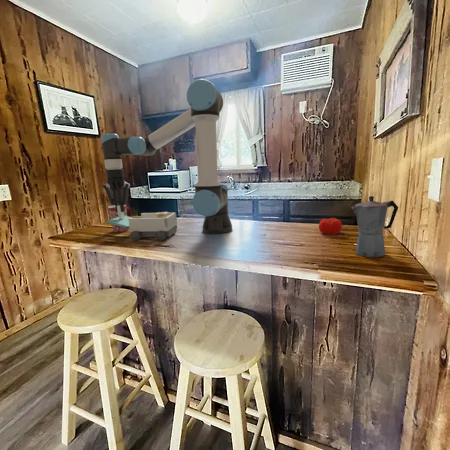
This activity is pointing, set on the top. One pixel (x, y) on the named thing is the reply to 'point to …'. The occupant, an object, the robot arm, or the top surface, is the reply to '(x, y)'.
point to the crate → (161, 214)
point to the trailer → (152, 226)
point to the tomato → (330, 226)
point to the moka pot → (372, 226)
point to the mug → (115, 214)
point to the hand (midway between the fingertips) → (121, 218)
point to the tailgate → (120, 222)
